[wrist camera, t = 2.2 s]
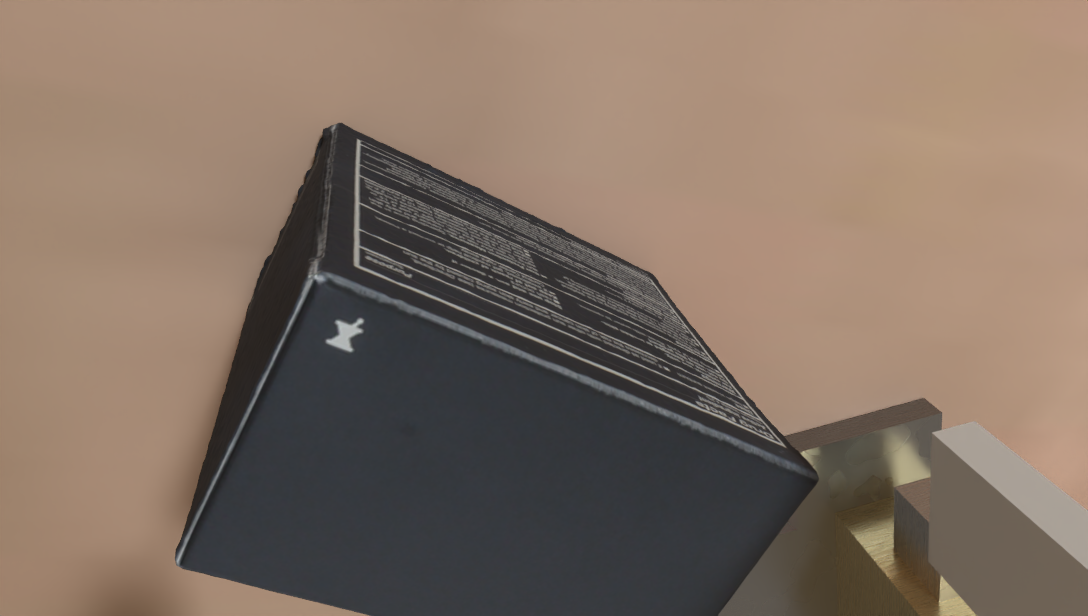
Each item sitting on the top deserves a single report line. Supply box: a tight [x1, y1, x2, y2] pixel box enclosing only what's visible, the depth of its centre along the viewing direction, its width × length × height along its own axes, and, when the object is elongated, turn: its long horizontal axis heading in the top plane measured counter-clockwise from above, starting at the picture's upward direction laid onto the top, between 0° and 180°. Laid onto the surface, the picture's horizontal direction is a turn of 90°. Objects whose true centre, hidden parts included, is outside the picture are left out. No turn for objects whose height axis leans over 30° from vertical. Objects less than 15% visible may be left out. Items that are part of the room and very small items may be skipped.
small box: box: [175, 123, 819, 616], centre depth 19 cm, size 11×6×10 cm, turn 61°
